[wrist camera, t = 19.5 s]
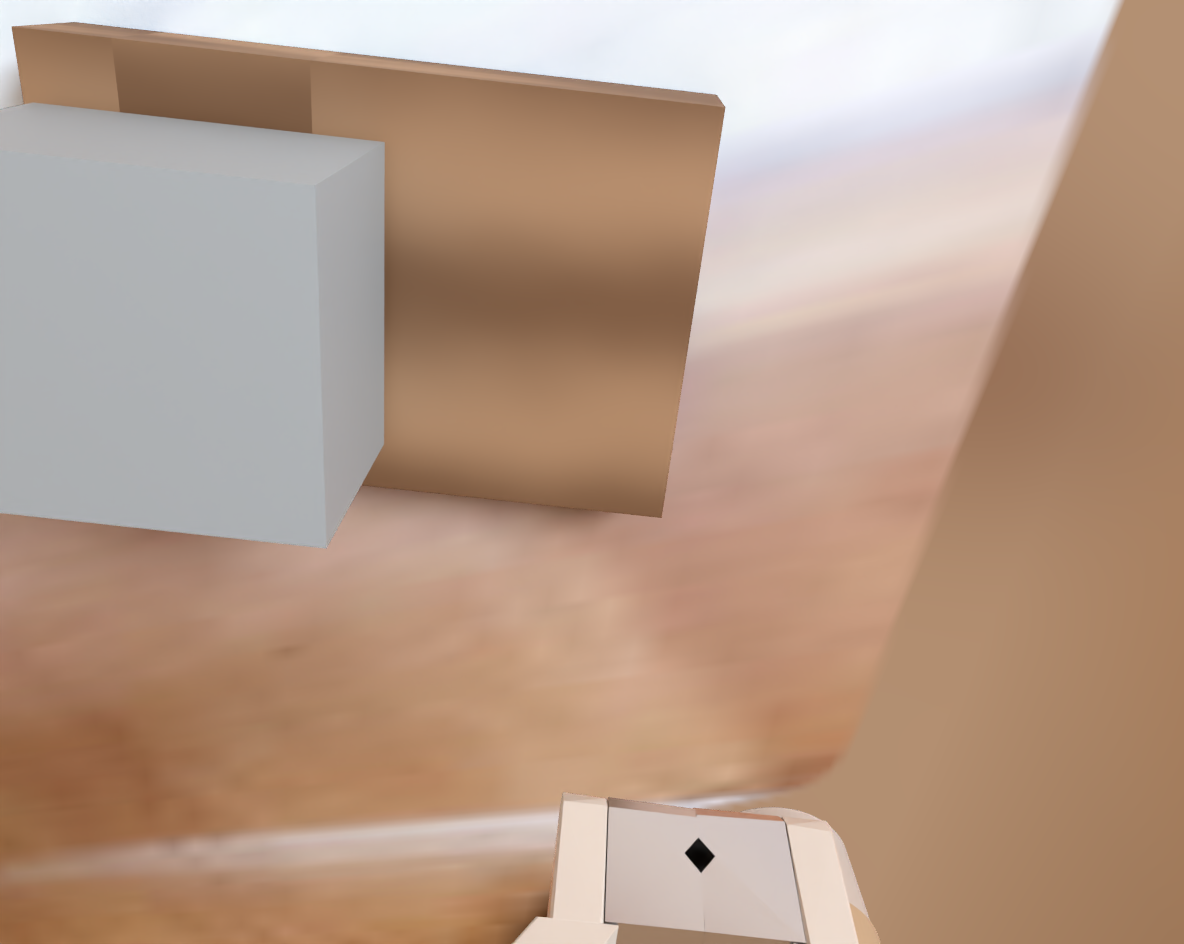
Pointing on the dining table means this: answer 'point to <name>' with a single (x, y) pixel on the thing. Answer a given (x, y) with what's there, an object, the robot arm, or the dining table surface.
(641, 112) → the socket block
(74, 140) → the housing cap
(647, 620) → the dining table surface
